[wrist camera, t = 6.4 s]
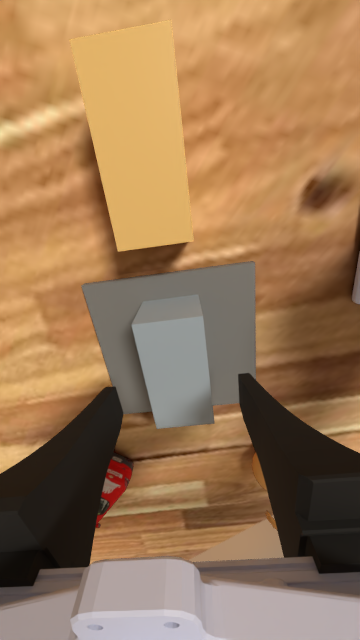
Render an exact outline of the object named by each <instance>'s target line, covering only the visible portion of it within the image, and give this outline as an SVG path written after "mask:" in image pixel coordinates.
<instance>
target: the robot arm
mask: <svg viewBox="0 0 360 640" xmlns="http://www.w3.org/2000/svg"><path fill="white" fill-rule="evenodd" d="M352 301H353V302H354V303H356V304H360V253H359V258H358V264H357V270H356V276H355V282H354V288H353V294H352ZM238 385H239V403H240V407H241V411H242V415H243V419H244V422H245V424H246V427H247V430H248V432H249V435H250V438H251V440H252V443H253V446H254V448H255V451H256V454H257V457H258V460H259V463H260V466H261V469H262V473H263V476H264V480H265V484H266V488H267V491H268V495H269V499H270V503H271V506H272V510H273V514H274V518H275V522H276V526H277V530H278V534H279V538H280V542H281V545H282V550H283V555H284V558H269V559H250V560H249V559H248V560H227V561H206V562H191V561H189V560H186V559H184V558H181V557H171V556H161V557H141V558H121V559H105V560H100V561H95V562H93V563H92V564H91V565H89V564H90V558H91V551H92V544H93V538H94V533H95V527H96V521H97V516H98V511H99V506H100V501H101V496H102V491H103V487H104V482H105V478H106V474H107V470H108V467H109V464H110V461H111V458H112V455H113V451H114V448H115V445H116V442H117V439H118V436H119V432H120V429H121V424H122V418H123V409H122V406H121V403H120V399H119V396H118V393H117V390H116V386H114V387H105V388H104V389H103V390H102V391H101V392H100V393H99V394H98V395H97V397H96V398H95V399H94V400H93V401H92V402H91V403H90V404H89V405H88V406H87V407H86V408H85V409H84V410H83V411H82V412H81V413H80V414H79V415H78V416H77V417H76V418H75V419H74V420H73V421H72V422H71V423H69V424H68V425H67V426H66V427H65V428H64V429H63V430H62V431H61V432H59V433H58V434H57V435H56V436H55V437H53V438H52V439H51V440H50V441H48V442H47V443H46V444H44V445H43V446H42V447H40V448H39V449H38V450H36V451H35V452H33V453H32V454H31V455H29V456H28V457H26V458H25V459H23V460H22V461H20V462H19V463H17V464H16V465H14V466H13V467H11V468H9V469H8V470H6V471H4V472H3V473H1V474H0V640H360V453H358V452H356V451H354V450H352V449H349V448H347V447H345V446H343V445H341V444H340V443H338V442H336V441H334V440H332V439H330V438H328V437H327V436H325V435H323V434H322V433H320V432H318V431H317V430H315V429H314V428H312V427H310V426H309V425H307V424H306V423H304V422H303V421H301V420H300V419H299V418H297V417H296V416H295V415H293V414H292V413H291V412H289V411H288V410H287V409H286V408H284V407H283V406H282V405H281V404H280V403H279V402H278V401H276V400H275V399H274V398H273V397H272V396H271V395H270V394H269V393H268V392H267V391H266V390H265V389H264V388H263V387H262V386H261V385H260V384H259V383H258V382H257V381H256V380H255V379H254V377H253V376H252V375H251V374H250V373H242V374H238Z"/></svg>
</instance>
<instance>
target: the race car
mask: <svg viewBox="0 0 360 640" xmlns="http://www.w3.org/2000/svg"><path fill="white" fill-rule="evenodd" d="M132 470H133V463H132V462H131V461H130V459H129V460H128V458H127V459H125V457H123V456H121V455H118V454H116V453H114V452H113V455H112V458H111V461H110V464H109V467H108V470H107V474H106V478H105V482H104V487H103V491H102V496H101V501H100V506H99V511H98V516H97V521H96V528H99V527H100V524H99V523H98V522H99V521H100V520H101V519H102V518H103V516H104V515H105V514H106V513H107V511H108V510H109V509H110V508H111V507H112V505H113V504H114V503H115V502H116V501H117V500H118V498H119V497H120V496H121V495H122V494H123V492H124V491H125V490H126V488H127V486H128V483H129V481H130V479H131V475H132Z"/></svg>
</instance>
